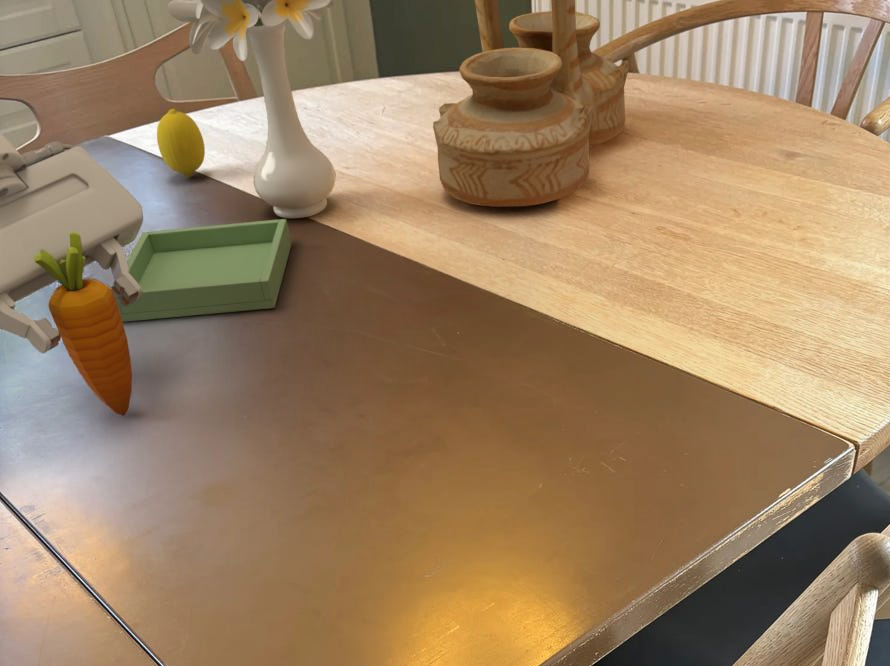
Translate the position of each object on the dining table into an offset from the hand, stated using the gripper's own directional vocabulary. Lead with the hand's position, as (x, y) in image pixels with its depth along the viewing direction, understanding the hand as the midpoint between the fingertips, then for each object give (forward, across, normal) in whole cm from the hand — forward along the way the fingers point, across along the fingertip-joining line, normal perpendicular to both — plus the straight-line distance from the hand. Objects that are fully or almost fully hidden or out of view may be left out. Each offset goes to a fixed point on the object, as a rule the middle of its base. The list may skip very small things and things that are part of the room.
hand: (94, 322), depth 80 cm
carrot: (+6, 0, -7) cm, 9 cm away
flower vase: (-6, -42, -18) cm, 46 cm away
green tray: (-3, -23, -15) cm, 28 cm away
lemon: (-21, -46, -33) cm, 60 cm away
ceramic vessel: (+8, -65, -5) cm, 66 cm away
